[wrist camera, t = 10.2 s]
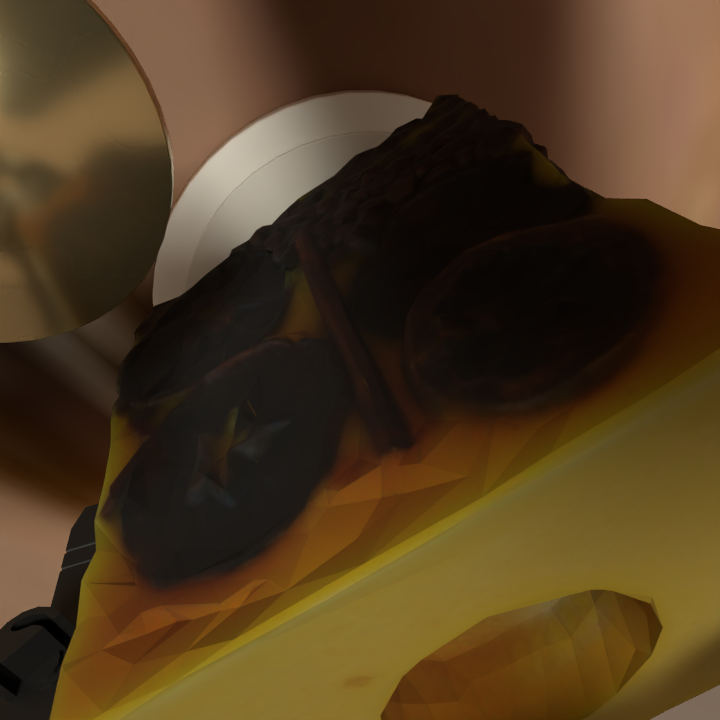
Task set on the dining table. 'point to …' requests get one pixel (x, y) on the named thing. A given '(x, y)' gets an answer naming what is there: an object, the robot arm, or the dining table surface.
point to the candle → (418, 457)
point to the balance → (75, 168)
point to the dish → (269, 176)
